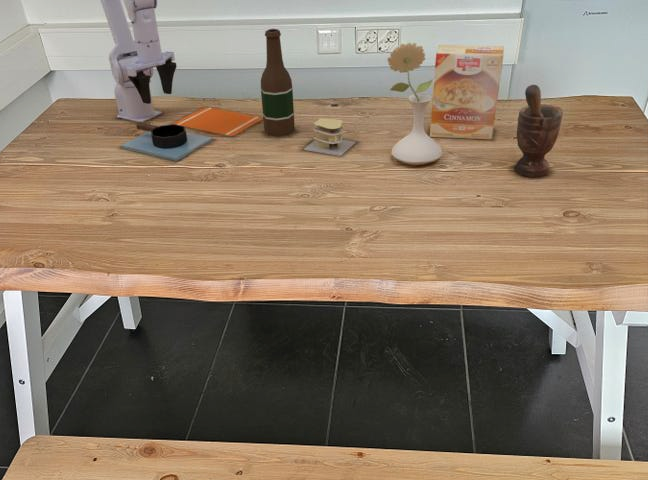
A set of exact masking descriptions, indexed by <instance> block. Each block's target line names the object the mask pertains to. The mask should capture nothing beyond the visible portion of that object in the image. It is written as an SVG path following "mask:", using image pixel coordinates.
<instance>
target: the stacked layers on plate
mask: <svg viewBox="0 0 648 480" xmlns="http://www.w3.org/2000/svg"><path fill="white" fill-rule="evenodd" d="M343 123H344V121H343V120H341V119H334V118H322V117H320V118H318V119H317V120H316V121H315V122H313V125H316V126H315V127H313V128H312V129H313V132H314V133H315V134H314V135H315V136H314V137H313V139H314V140H313V141H312V142H310V143H309V144H308V145H307V146H305V147H304V148H303V151H307V152H314V153H321V154H326V155H332V156H339V157H341V156H342V155H344V154H345V153H346V152H347V151H348V150H349V149H351V147H353V145H355V144H356V143H357V141H354V140H353V141H352V140H347V139H343V138H344V136H343V134H342V131H343V129H344V127H343Z"/></svg>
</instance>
